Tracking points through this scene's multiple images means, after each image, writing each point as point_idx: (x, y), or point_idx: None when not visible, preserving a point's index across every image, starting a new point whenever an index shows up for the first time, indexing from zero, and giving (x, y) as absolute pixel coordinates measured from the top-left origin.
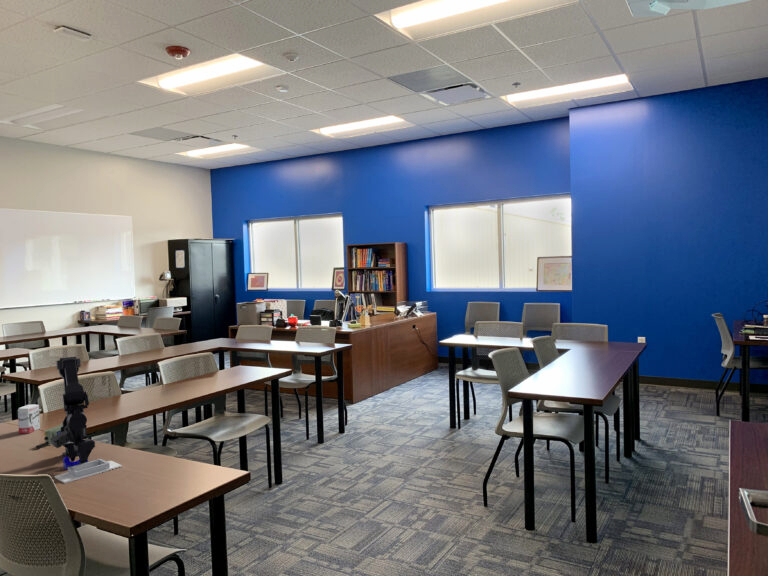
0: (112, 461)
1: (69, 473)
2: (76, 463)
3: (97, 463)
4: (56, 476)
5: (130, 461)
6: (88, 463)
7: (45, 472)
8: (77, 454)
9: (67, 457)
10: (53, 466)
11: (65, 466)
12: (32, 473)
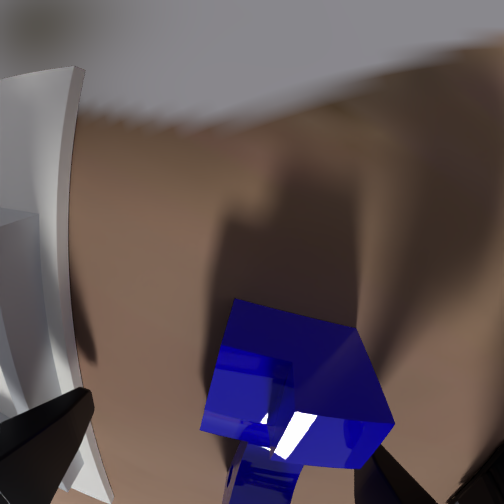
0: (85, 492)
1: (3, 208)
2: (220, 429)
3: None
4: (45, 78)
5: (58, 496)
6: None
7: (407, 107)
8: (470, 484)
9: (322, 460)
10: (496, 290)
11: (257, 325)
12: (492, 42)
